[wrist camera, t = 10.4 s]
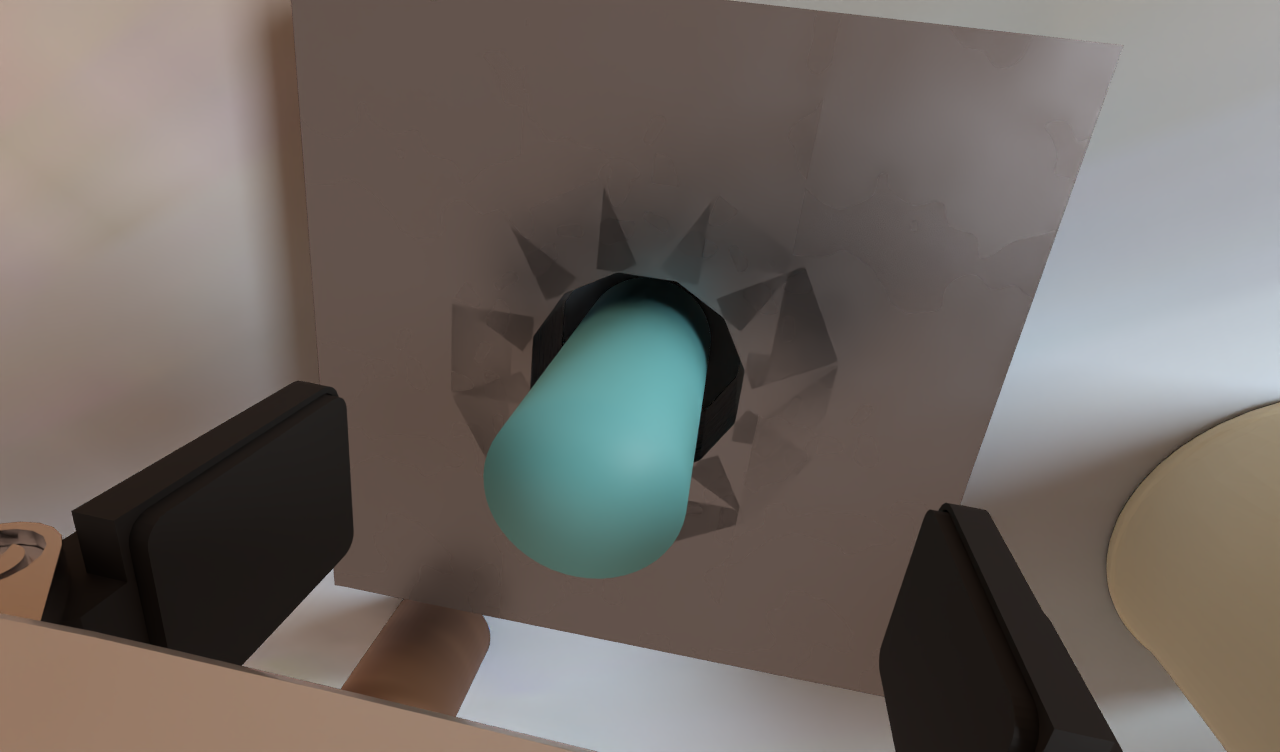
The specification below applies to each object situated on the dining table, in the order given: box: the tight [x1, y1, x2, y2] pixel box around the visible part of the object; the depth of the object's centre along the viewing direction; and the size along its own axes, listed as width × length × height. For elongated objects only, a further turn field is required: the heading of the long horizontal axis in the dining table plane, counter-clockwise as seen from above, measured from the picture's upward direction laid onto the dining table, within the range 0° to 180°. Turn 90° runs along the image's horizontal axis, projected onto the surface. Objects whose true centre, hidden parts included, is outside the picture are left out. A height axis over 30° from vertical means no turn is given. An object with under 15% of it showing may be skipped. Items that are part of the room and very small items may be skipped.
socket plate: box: [291, 0, 1124, 697], centre depth 17 cm, size 16×16×3 cm
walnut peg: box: [341, 599, 490, 717], centre depth 20 cm, size 4×4×8 cm
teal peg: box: [483, 278, 711, 579], centre depth 15 cm, size 4×4×8 cm
